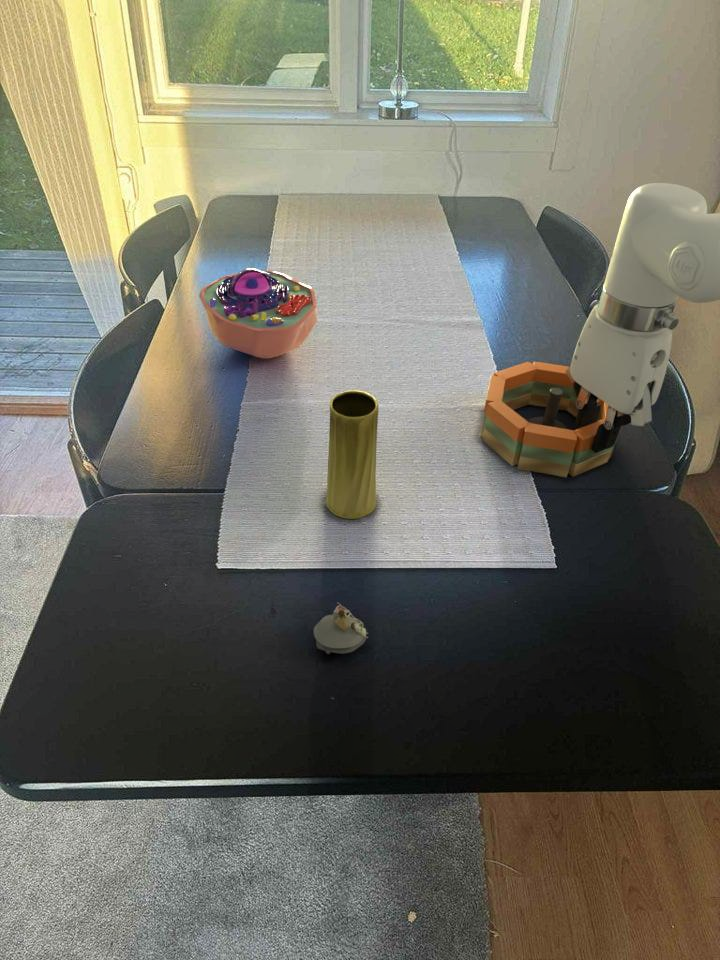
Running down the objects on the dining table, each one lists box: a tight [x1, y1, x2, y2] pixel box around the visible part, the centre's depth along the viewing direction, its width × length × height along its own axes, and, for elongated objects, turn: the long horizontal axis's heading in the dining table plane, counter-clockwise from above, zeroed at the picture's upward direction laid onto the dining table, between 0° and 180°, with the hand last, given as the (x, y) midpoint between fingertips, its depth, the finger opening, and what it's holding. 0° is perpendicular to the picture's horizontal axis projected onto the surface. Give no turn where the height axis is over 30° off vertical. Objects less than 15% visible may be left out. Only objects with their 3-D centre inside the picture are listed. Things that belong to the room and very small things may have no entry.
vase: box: [325, 390, 379, 520], centre depth 79 cm, size 6×6×14 cm
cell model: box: [198, 267, 318, 360], centre depth 107 cm, size 17×20×11 cm
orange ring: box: [483, 361, 619, 453], centre depth 92 cm, size 17×17×2 cm
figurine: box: [313, 602, 369, 655], centre depth 66 cm, size 5×4×6 cm
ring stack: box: [480, 381, 619, 478], centre depth 93 cm, size 17×17×7 cm
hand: (592, 440), depth 88 cm, fingers closed
